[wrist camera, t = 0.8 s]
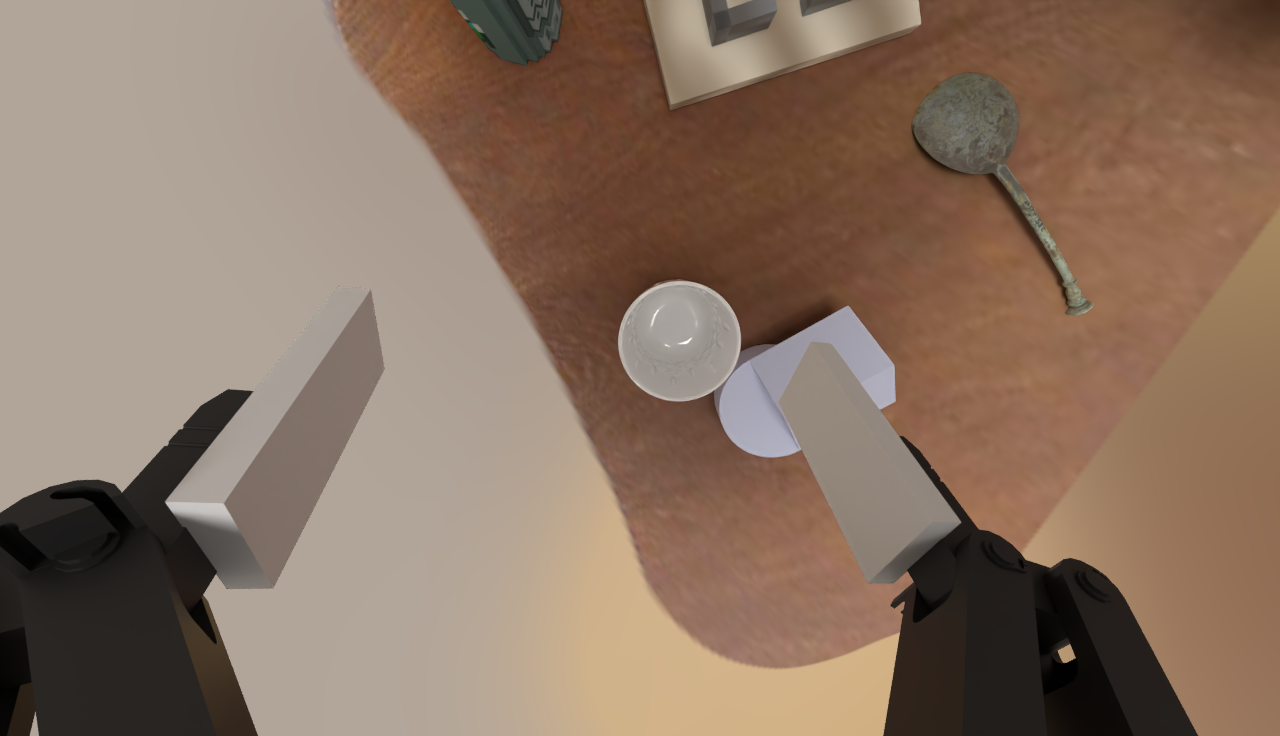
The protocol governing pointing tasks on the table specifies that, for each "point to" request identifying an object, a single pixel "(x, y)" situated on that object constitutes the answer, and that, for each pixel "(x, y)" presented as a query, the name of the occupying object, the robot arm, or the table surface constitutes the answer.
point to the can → (514, 26)
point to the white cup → (679, 340)
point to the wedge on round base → (769, 369)
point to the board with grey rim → (762, 38)
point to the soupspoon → (984, 149)
